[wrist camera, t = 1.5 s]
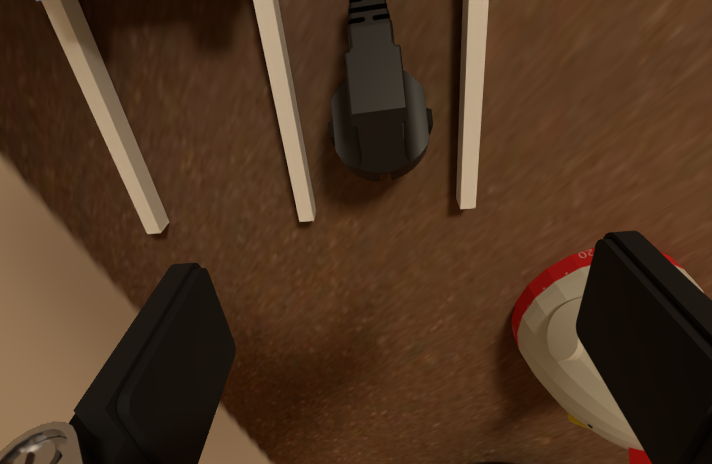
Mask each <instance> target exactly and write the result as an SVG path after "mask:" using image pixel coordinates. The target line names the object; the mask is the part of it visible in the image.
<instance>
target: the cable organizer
mask: <svg viewBox="0 0 712 464" xmlns="http://www.w3.org/2000/svg"><path fill="white" fill-rule="evenodd" d="M36 1H42V3H43V6H44V8H45V10H46V12H47V14H48V17H49V19H50V21H51V23H52V25H53V28H54V30H55V32H56V34H57V36H58V39H59V41H60V43H61V45H62V47H63V50H64V52H65V54H66V56H67V58H68V61H69V63H70V65H71V67H72V69H73V72H74V74H75V76H76V78H77V80H78V83H79V85H80V87H81V89H82V91H83V94H84V96H85V98H86V100H87V102H88V105H89V107H90V109H91V111H92V113H93V116H94V118H95V120H96V122H97V124H98V127H99V129H100V131H101V133H102V135H103V138H104V140H105V142H106V144H107V146H108V149H109V151H110V153H111V155H112V157H113V160H114V162H115V164H116V166H117V168H118V171H119V173H120V175H121V177H122V179H123V182H124V184H125V186H126V188H127V190H128V193H129V195H130V197H131V199H132V201H133V204H134V206H135V208H136V210H137V212H138V215H139V217H140V219H141V221H142V223H143V226H144V228H145V230H146V232H147V234H156V233H161V232H162V231H163V230H164V228H165V227H166V226H167V225H168V223H169V220H168V218H167V215H166V213H165V210H164V208H163V205H162V203H161V201H160V198H159V196H158V193H157V191H156V188H155V186H154V184H153V181H152V179H151V176H150V174H149V171H148V169H147V166H146V164H145V162H144V159H143V157H142V154H141V152H140V149H139V147H138V145H137V142H136V140H135V137H134V135H133V132H132V130H131V128H130V125H129V123H128V120H127V118H126V115H125V113H124V111H123V108H122V106H121V103H120V101H119V98H118V96H117V94H116V91H115V89H114V86H113V84H112V81H111V79H110V77H109V74H108V72H107V69H106V67H105V64H104V62H103V60H102V57H101V55H100V52H99V50H98V47H97V45H96V43H95V40H94V38H93V35H92V33H91V30H90V28H89V26H88V23H87V21H86V18H85V16H84V13H83V11H82V9H81V6H80V4H79V1H78V0H36ZM253 2H254V7H255V12H256V16H257V21H258V26H259V31H260V35H261V40H262V45H263V50H264V55H265V59H266V64H267V69H268V74H269V78H270V83H271V88H272V93H273V98H274V102H275V107H276V112H277V117H278V122H279V126H280V131H281V136H282V141H283V145H284V150H285V155H286V160H287V165H288V169H289V174H290V179H291V184H292V188H293V193H294V198H295V203H296V208H297V212H298V217H299V222H306V221H314V217H315V212H316V208H315V202H314V196H313V191H312V185H311V180H310V174H309V169H308V163H307V158H306V152H305V147H304V141H303V135H302V130H301V124H300V119H299V113H298V108H297V102H296V97H295V91H294V85H293V80H292V74H291V69H290V63H289V58H288V52H287V47H286V41H285V35H284V30H283V24H282V19H281V13H280V8H279V2H278V0H253ZM488 2H489V0H463V9H462V39H461V69H460V99H459V128H458V158H457V188H456V200H457V202H458V205H459V207H460V209H469V208H475V207H476V191H477V175H478V160H479V144H480V128H481V112H482V97H483V81H484V65H485V49H486V33H487V18H488Z"/></svg>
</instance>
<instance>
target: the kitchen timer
mask: <svg viewBox="0 0 712 464" xmlns="http://www.w3.org/2000/svg"><path fill="white" fill-rule="evenodd" d="M594 249H595V248H593V249H589V250H586V251H583V252H580V253H577V254H574V255H571V256H569V257H567V258H565V259H563V260H561V261H560V262H558V263H556V264H554V265H552V266H551V267H549V268H547V269H546V270H545V271H543V272H542V273H541V274H540V275H539V276H538V277H537V278H535V279H534V280H533V281H532V282H531V283H530V284H529V285H528V286H527V287H526V289H525V290H524V292H523V293H522V295H521V296H520V297H519V299H518V300H517V302H516V305H515V308H514V312H513V315H512V319H511V321H512V329H513V336H514V338H515V341H516V343H517V346H518V348H519V350H520V352H521V354H522V356H523V357H524V359H525V361H526V362H527V364H528V365H529V367H530V369H531V370H532V372H533V373H534V375H535V376H536V377H537V379H538V380H539V381H540V382H541V383H542V385H543V386H544V387H545V388H546V389H547V390H548V392H549V393H550V394H551V395H552V396H553V397H554V398H555V399H556V400H557V402H558V403H559V404H560V405H561V406H562V407H563V408H564V409H565V410H566V411H567V412H568V418H569V421H570V422H572V423H575V424H577V425H580V426H582V427H585V428H588V429H590V430H592V431H594V432H595V433H597V434H598V435H600V436H602V437H603V438H605V439H607V440H608V441H610V442H612V443H614V444H616V445H618V446H621V447H623V448H625V449H628V450H629V461H630V464H652V463H651V461H650V459H649V458H648V456H647V454H646V453H645V451H644V449H643V448H642V446H641V444H640V442H639V441H638V439H637V437H636V436H635V434H634V432H633V430H632V429H631V427H630V425H629V424H628V422H627V420H626V419H625V417H624V415H623V413H622V412H621V410H620V408H619V407H618V405H617V403H616V401H615V400H614V398H613V396H612V395H611V393H610V391H609V390H608V388H607V386H606V384H605V383H604V381H603V379H602V378H601V376H600V374H599V372H598V371H597V369H596V367H595V366H594V364H593V362H592V360H591V359H590V357H589V355H588V354H587V352H586V350H585V349H584V347H583V345H582V343H581V342H580V340H579V338H578V336H577V333H576V320H577V316H578V312H579V308H580V304H581V300H582V297H583V293H584V289H585V285H586V281H587V277H588V273H589V269H590V265H591V261H592V257H593V253H594ZM661 253H662V252H661ZM662 254H663V255H664V256H665V257H666V258H667V259H668V260H669V261H670V262H671V263H672V264H673V265H674V266H675V267H677V268H678V269H679V270H680V271H681V272H682V273H683V274H684V275H685V276H686V277H687V278H688V279H689V280H690V281H691V282H692V283H694V284H695V285H696V286H697V287H698V288H699V289H700V290H701V291H702V289H701V288H700V287H699V286H698V285H697V283H696V282H695V281H694V280H693V279H692V278H691V277H690V276H689V275H688V273H687V272H686V271H685V270H684V269H683V268H682V267H681V266H680V265H679V264H678V263H676V262H675V261H674V260H673V259H672V258H671V257H670V256H668V255H666V254H664V253H662ZM702 292H703V291H702ZM703 293H704V292H703Z"/></svg>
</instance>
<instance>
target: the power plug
mask: <svg viewBox="0 0 712 464" xmlns="http://www.w3.org/2000/svg"><path fill="white" fill-rule="evenodd" d="M349 3H350V4H349V15H348V24H349V25H348V30H347V32H348V42H349V52H346V53H345V54H344V58H345V68H346V79H345V80H344V82H343V83H342V84H341V85H340V86H339V88H338V89H337V91H336V92H335V94H334V95H333V97H332V99H331V107H332V117H333V120H332V121H330V122H328V127H329V137H330V139H331V141H332V143H333V145H334V146H335V148H336V152H337V154H338V156H339V157H340V159H341V161H342V162H343V163H344V165H345V166H346V167H347V168H348V169H349V170H350V171H352V172H353V173H354V174H356V175H358V176H360V177H362V178H365V179H368V180H372V181H380V174H387V173H391V178H392V180H393V179H396V178H399V177H401V176H403V175H405V174H407V173H408V172H410V171H411V170H412V169H413V168H414V167H416V165H417V164H418V163H419V162H420V161H421V159H422V158H423V156H424V154H425V152H426V149H427V146H428V143H429V135H430V133H431V130H432V127H433V120H432V111H431V109H428V108H426V104H425V95H424V88H423V86H422V85H421V84H420V83H419V82H418V81H417V80H416V79H415V78H413V77H412V76H411V75H409V74H408V73H407V72H405V71H404V70H403V65H402V56H401V47H400V46H399V45H395V43H394V35H393V26H392V22H391V19H390V14H389V11H388V9H387V3H386V0H349Z"/></svg>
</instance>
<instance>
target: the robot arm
mask: <svg viewBox="0 0 712 464" xmlns="http://www.w3.org/2000/svg"><path fill="white" fill-rule="evenodd" d="M576 333H577V336H578V338H579V340H580V342H581V343H582V345H583V347H584V349H585V350H586V352H587V354H588V355H589V357H590V359H591V360H592V362H593V364H594V366H595V367H596V369H597V371H598V372H599V374H600V376H601V378H602V379H603V381H604V383H605V384H606V386H607V388H608V390H609V391H610V393H611V395H612V396H613V398H614V400H615V401H616V403H617V405H618V407H619V408H620V410H621V412H622V413H623V415H624V417H625V419H626V420H627V422H628V424H629V425H630V427H631V429H632V430H633V432H634V434H635V436H636V437H637V439H638V441H639V442H640V444H641V446H642V448H643V449H644V451H645V453H646V454H647V456H648V458H649V459H650V461H651V463H652V464H712V300H711V299H710V298H708V297H707V296H706V295H705V294H704V293H703V292H702V291H701V290H700V289H699V288H698V287H697V286H696V285H695V284H694V283H692V282H691V281H690V280H689V279H688V278H687V277H686V276H685V275H684V274H683V273H682V272H681V271H680V270H679V269H678V268H677V267H675V266H674V265H673V264H672V263H671V262H670V261H669V260H668V259H667V258H666V257H665V256H664V255H663V254H662V253H661V252H660V251H658V250H657V249H656V248H655V247H654V246H653V245H652V244H651V243H650V242H649V241H648V240H647V239H646V238H645V237H644V236H643V235H641V234H640V233H639V232H637V231H623V232H610V233H607V234H606V235H605V236H604V238H603V239H600V240H598V241H597V243H596V245H595V249H594V253H593V257H592V261H591V265H590V269H589V273H588V277H587V281H586V285H585V289H584V293H583V297H582V300H581V304H580V308H579V312H578V316H577V320H576ZM234 357H235V342H234V340H233V337H232V334H231V332H230V329H229V326H228V324H227V321H226V318H225V316H224V313H223V310H222V308H221V305H220V302H219V299H218V297H217V294H216V291H215V289H214V286H213V283H212V281H211V278H210V275H209V273H208V271H207V269H206V268H201V267H200V265H199V264H198V263H185V264H174V265H172V266H171V267H170V268H169V269H168V271H167V272H166V274H165V275H164V277H163V278H162V280H161V281H160V283H159V284H158V285H157V287H156V288H155V290H154V291H153V293H152V294H151V296H150V297H149V299H148V300H147V302H146V303H145V305H144V306H143V308H142V309H141V311H140V312H139V314H138V315H137V317H136V318H135V320H134V321H133V323H132V324H131V326H130V327H129V329H128V331H127V332H126V333H125V335H124V336H123V338H122V339H121V341H120V342H119V344H118V345H117V347H116V348H115V350H114V351H113V353H112V354H111V356H110V357H109V358H108V360H107V361H106V363H105V364H104V366H103V367H102V369H101V370H100V372H99V373H98V375H97V376H96V378H95V379H94V381H93V383H92V384H91V385H90V387H89V388H88V390H87V391H86V393H85V394H84V396H83V397H82V399H81V400H80V402H79V403H78V405H77V406H76V408H75V409H74V412H75V415H74V416H73V418H72V419H71V421H70V422H69V424H68V423H66V422H51V423H46V424H42V425H40V426H37V427H35V428H33V429H31V430H29V431H27V432H25V433H24V434H22V435H21V436H19V437H17V438H16V439H14V440H13V441H12V442H11V443H10V444H8V445H7V446H6V447H5V448H4V449H3V450H2V451H0V464H198V462H199V459H200V456H201V453H202V450H203V447H204V444H205V441H206V439H207V436H208V433H209V430H210V427H211V424H212V421H213V418H214V415H215V413H216V410H217V407H218V404H219V401H220V398H221V395H222V392H223V389H224V386H225V383H226V381H227V378H228V375H229V372H230V369H231V366H232V363H233V360H234Z"/></svg>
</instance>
